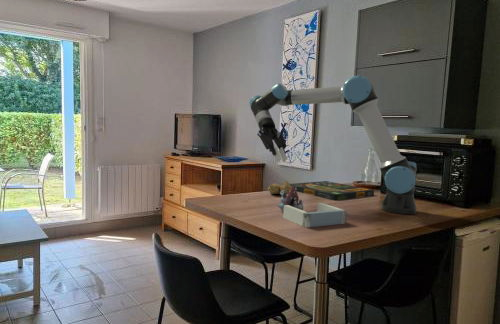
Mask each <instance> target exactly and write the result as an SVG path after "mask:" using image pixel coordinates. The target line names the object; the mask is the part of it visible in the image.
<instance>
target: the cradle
mask: <svg viewBox="0 0 500 324" xmlns="http://www.w3.org/2000/svg"><path fill="white" fill-rule="evenodd" d="M282 213H283V214H282V218H283V219H285V220H287V221H290V222H292V223H295V224H297V225H298V226H299V225H300V226H302V227H304V228H312V227H313V228H314V227H323V226H324V227H325V226H333V225H343V224H346V223H347V222H346V221H347V210H345V209H342V208H339V207H337V206H333V205H329V204H326V203H324V202H317V210H316V211H310V212H309V211H305V210H304V209H303V210H300V209H297V208H295V207H292V206H289V205H284V210H283V211H282Z"/></svg>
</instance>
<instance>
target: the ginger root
mask: <svg viewBox="0 0 500 324" xmlns="http://www.w3.org/2000/svg"><path fill="white" fill-rule="evenodd" d="M290 184H291V183H289V182H288V181H286V180H284V182H283V185H281V184H278V183H275V182H274V183H273V184H270V185H269V187H268V188H267V190H268V192H269V193H270V194H271V195H277V194H278V195H281V194H280V192H281V190H285V191H286V192H285V193H286V194H287V195H288V194H289V192H290V190H291V188H292V187H291V185H290Z"/></svg>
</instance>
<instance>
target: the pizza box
mask: <svg viewBox="0 0 500 324" xmlns="http://www.w3.org/2000/svg"><path fill="white" fill-rule="evenodd" d="M289 184H290V185H291V187H292V186H294V187H295V190H296V192H297V193H302V194H305V195H310V196H313V197H319V198H323V199H327V200H331V201H340V200H347V199H356V198H363V197H370V196H371V197H372V196H374V194H375V190H374V189H369V188H365V187H359V186H353V185H349V184H345V183H344V184H343V183H339V182H338V183H337V182H333V181H328V180H323V181H321V180H320V181H310V182H296V183H295V182H294V183H289Z"/></svg>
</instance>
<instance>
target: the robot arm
mask: <svg viewBox="0 0 500 324" xmlns="http://www.w3.org/2000/svg"><path fill="white" fill-rule="evenodd" d="M378 101H379V98H378V96H377V94H376V92H375V88H374V86H373V84H372V83H371V82H370V80H369V79H368V78H367V77H366V76H363V75H353V76H351V77H349V78H348V79H346V81H345V83H344V84H343V85H341V86H330V87H329V86H328V87H316V88H315V87H314V88H300V89H287V88H285V86H284V85H283V84H282V83H280V82H279V83H277V84H275V85H273V86H272V87H271V88H269V90H267V91H266V92H265V93H264V94H262V95H255V96H252V97H251V98H250V100H249V107H250V110H251V112H252V114H253V116H254V119H255V121H256V123H257V127H258V128H259V130H258V132H257V134H256V135H257V136H258V137H259V139H260V140H261V142H262V144H263V146H264V148H265V149H266V150H267V151H268V150H269V152H270V153H271V154H272V156H274V158H275V161H276V162H277V163H279V162H280V161H282V162H283V163H286V162H287V160H288V156H287V155H286V150H285V149H286V148H287V146H288V145H287V144H286V140H285V137H284V131H282V130H281V131H278V130H279V129H277V128H276V124H275V121H274V120H273V117H272V115H271V113H270V110H271V109H273V107H275V106H276V105H279V106H283V107H287V106H293V105H296V106H297V105H311V104H315V105H316V104H331V103H333V104H335V103H342V104H344V105H349V107H350V109H351V111H352V112H353V113H355V114H357V115H358V117H359V119H360V121H361V124H362V125H363V127H364V129H365V132H366V134H367V136H368V138H369V140H370V143H371V145H372V148H373V149H374V151H375V153H376V155H377V157H378V159H379V161H380V166H379V170H380V172H381V174H382V176H383V179H384V184H385V186H386V194H385V196H384V198H383V200H382V202H381V210H383V211H385V212H388V213H391V214H392V213H393V214H399V215H415V214H417V209H418V208H417V205H416V204H417V203H416V200H415V196H414V195H415V193H414V192H415V186H416V174H417V171H418V170H417V163H416V162H414V161H408V159H407V157H406V156H403V155H402V154H401V153H400V150H399V149H398V146H397V145H396V143H395V141H394V138H393V136H392V133H391V132H390V130H389V128H388V125H387V124H386V121H385V119H384V118H383V115H382V113H381V111H380V109H379V107H378ZM274 143H275V144H274ZM275 145H276V147H275Z"/></svg>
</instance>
